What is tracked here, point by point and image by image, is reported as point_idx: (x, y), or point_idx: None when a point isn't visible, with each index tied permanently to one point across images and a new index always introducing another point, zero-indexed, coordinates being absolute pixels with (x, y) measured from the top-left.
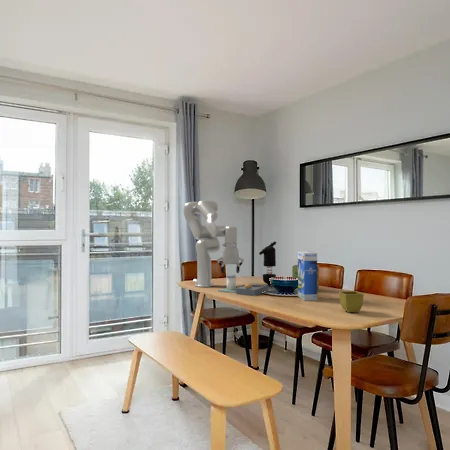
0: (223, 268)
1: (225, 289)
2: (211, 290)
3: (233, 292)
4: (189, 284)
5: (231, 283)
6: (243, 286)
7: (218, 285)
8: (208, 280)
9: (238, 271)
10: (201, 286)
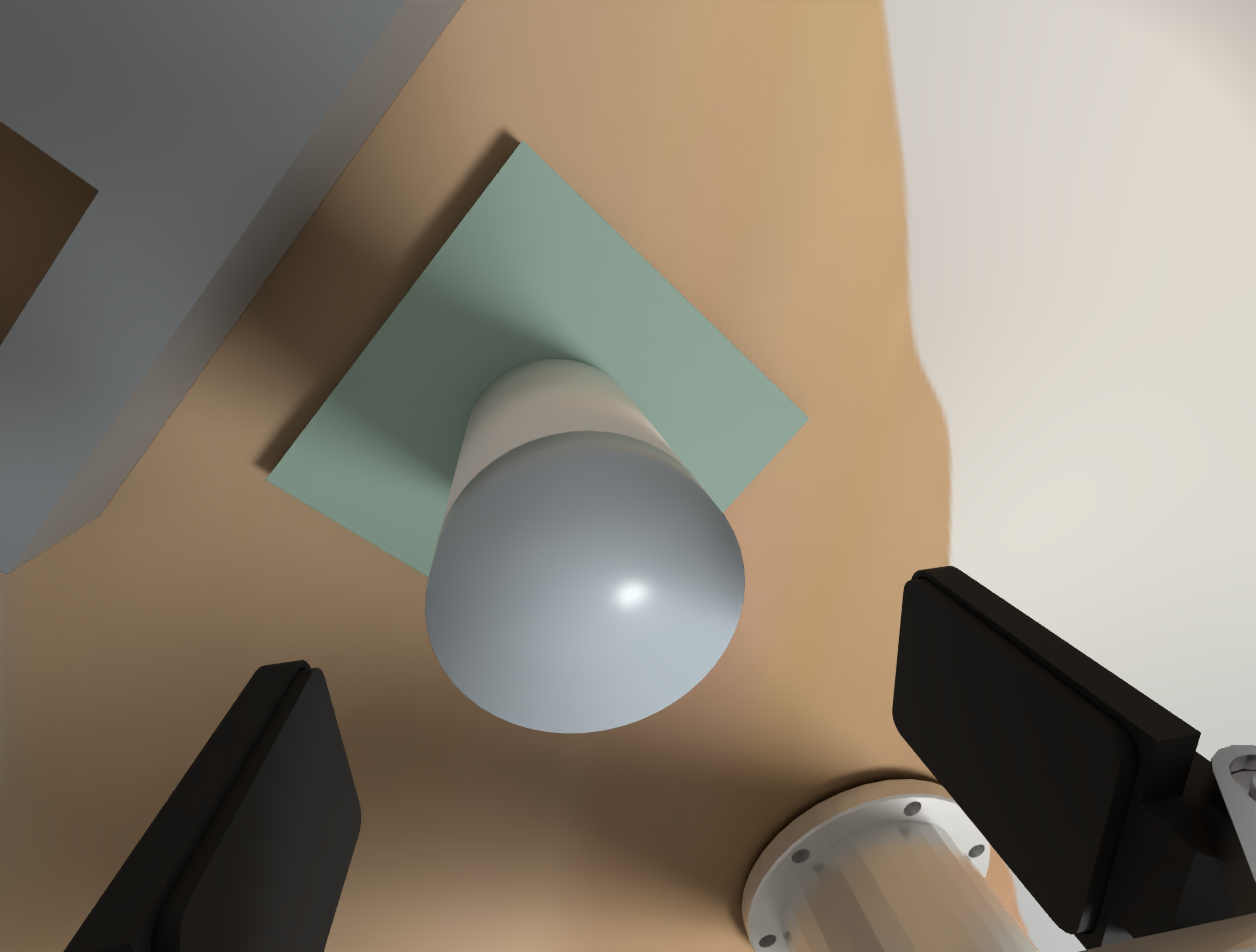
0: (1086, 687)
1: None
2: (878, 512)
3: (547, 166)
4: None
5: (579, 390)
6: (250, 176)
7: (673, 899)
8: (877, 905)
9: (243, 708)
10: (934, 784)
